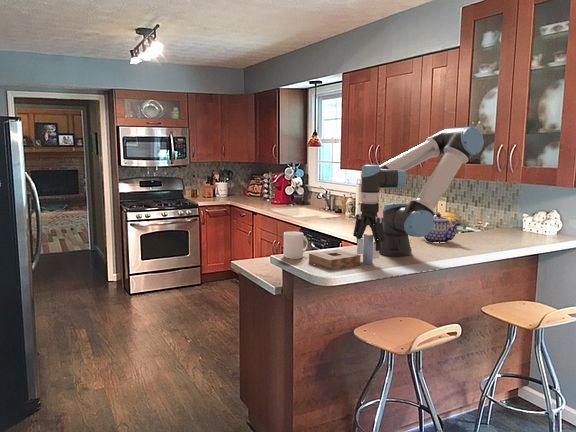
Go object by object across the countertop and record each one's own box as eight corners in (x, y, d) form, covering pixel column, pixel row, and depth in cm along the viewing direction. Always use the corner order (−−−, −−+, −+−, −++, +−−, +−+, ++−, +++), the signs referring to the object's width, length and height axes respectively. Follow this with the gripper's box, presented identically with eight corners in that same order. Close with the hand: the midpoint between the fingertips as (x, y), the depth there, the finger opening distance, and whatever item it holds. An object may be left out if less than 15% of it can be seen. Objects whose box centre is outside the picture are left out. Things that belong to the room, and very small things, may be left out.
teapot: (408, 239, 259) (409, 211, 257) (426, 236, 268) (427, 209, 266) (448, 247, 239) (450, 217, 237) (467, 244, 248) (469, 214, 246)
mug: (313, 257, 215) (313, 233, 214) (290, 260, 209) (290, 235, 207) (301, 253, 223) (302, 230, 221) (279, 256, 216) (279, 232, 214)
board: (338, 258, 213) (338, 249, 213) (360, 264, 202) (360, 255, 201) (308, 262, 205) (308, 253, 204) (329, 269, 193) (329, 260, 193)
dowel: (367, 261, 208) (368, 233, 206) (374, 263, 205) (375, 235, 203) (360, 262, 206) (361, 234, 204) (367, 264, 203) (368, 236, 201)
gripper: (345, 200, 209) (344, 252, 212) (381, 205, 191) (379, 262, 194) (358, 199, 213) (357, 250, 216) (395, 204, 195) (393, 260, 198)
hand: (367, 256), depth 205 cm, fingers open, 9 cm apart
